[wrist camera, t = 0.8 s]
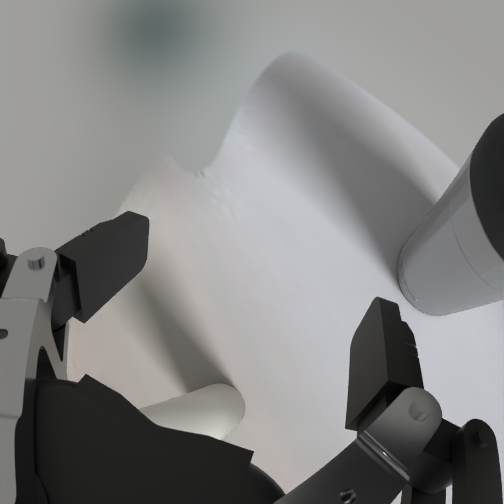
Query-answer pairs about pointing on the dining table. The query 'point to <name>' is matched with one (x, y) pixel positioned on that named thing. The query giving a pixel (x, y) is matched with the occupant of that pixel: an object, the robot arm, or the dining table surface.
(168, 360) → the dining table surface
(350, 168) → the dining table surface
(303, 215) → the dining table surface
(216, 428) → the spout tube
